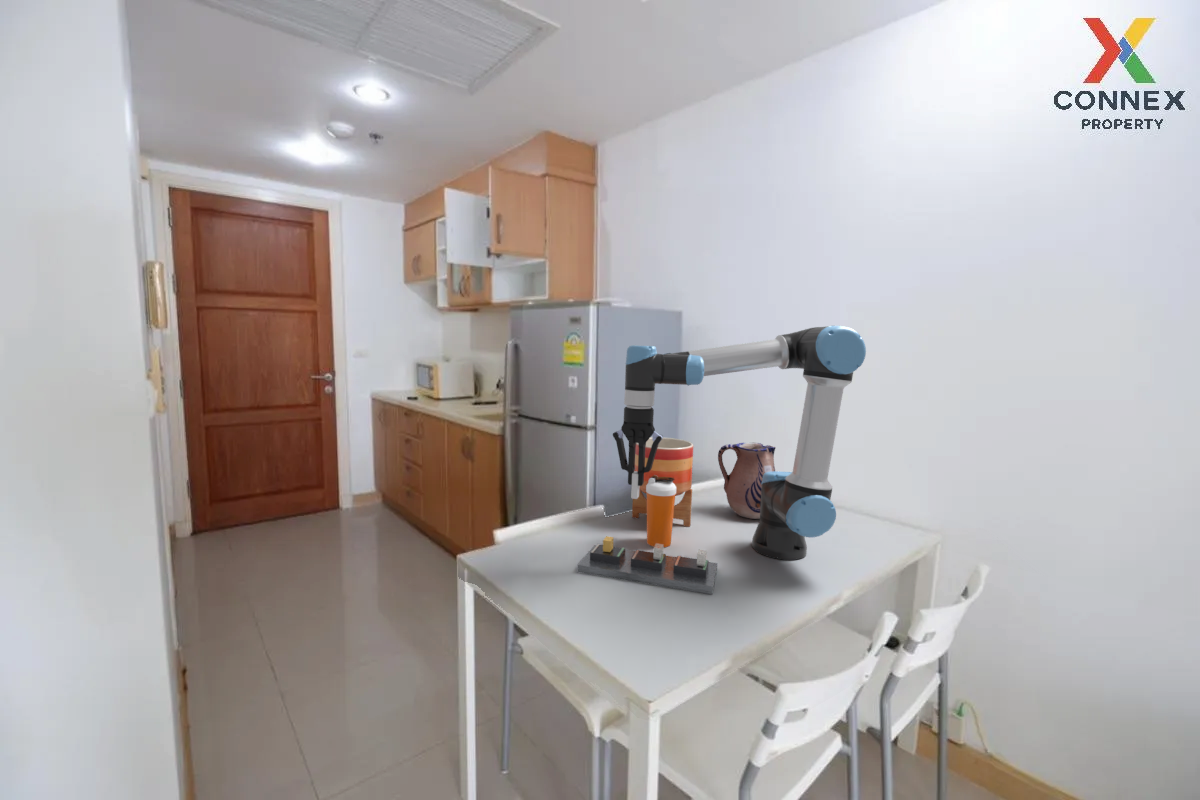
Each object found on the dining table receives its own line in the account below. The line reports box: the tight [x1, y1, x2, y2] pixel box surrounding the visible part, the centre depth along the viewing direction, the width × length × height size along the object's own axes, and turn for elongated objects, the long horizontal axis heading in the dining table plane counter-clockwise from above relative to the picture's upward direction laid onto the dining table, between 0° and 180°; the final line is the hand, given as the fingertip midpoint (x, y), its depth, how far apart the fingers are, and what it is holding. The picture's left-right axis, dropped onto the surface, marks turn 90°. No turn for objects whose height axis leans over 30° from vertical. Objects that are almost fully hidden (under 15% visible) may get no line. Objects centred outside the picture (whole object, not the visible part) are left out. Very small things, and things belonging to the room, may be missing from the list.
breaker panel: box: [576, 543, 718, 595], centre depth 134 cm, size 34×14×7 cm, turn 73°
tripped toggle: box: [602, 536, 615, 552], centre depth 137 cm, size 2×3×3 cm, turn 163°
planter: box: [631, 437, 694, 528], centre depth 171 cm, size 20×20×27 cm
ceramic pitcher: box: [717, 442, 776, 520], centre depth 180 cm, size 18×21×25 cm
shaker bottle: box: [645, 475, 676, 548], centre depth 152 cm, size 9×9×20 cm
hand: (635, 497), depth 133 cm, fingers closed
